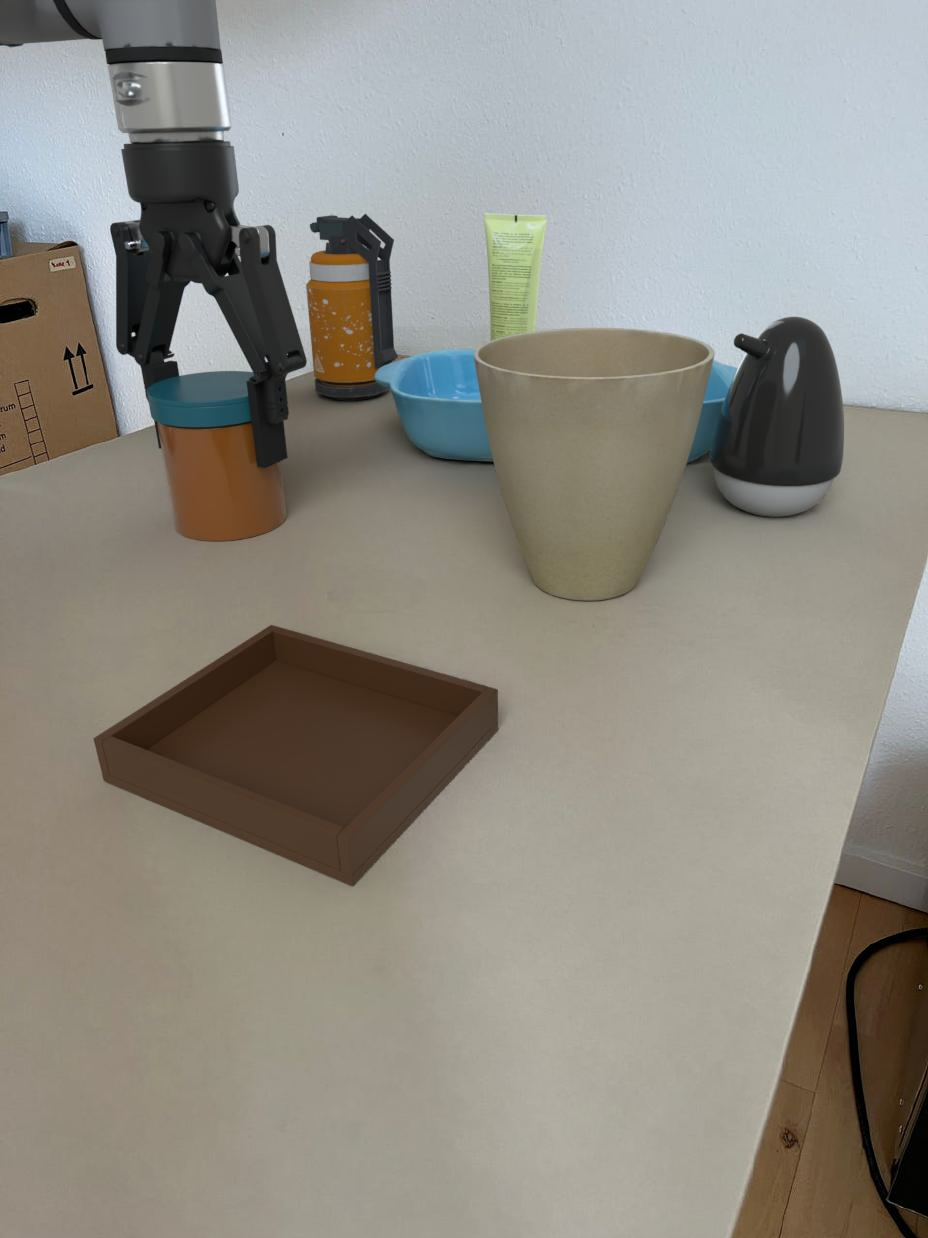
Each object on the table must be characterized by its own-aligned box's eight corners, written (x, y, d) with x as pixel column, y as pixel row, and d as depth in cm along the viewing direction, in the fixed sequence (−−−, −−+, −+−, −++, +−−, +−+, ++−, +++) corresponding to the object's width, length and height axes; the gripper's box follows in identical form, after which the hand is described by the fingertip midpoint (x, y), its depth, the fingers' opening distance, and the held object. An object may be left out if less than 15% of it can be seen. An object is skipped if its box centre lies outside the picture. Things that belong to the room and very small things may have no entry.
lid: (122, 417, 72) (118, 392, 71) (212, 388, 79) (208, 365, 78) (219, 434, 67) (215, 408, 66) (304, 402, 75) (301, 378, 74)
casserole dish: (726, 411, 104) (733, 345, 100) (768, 478, 84) (779, 399, 81) (395, 409, 106) (392, 345, 103) (360, 474, 87) (355, 397, 83)
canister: (350, 380, 119) (338, 208, 109) (419, 392, 113) (412, 212, 104) (300, 396, 112) (282, 215, 103) (370, 409, 107) (358, 219, 97)
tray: (103, 781, 47) (92, 738, 45) (275, 662, 57) (270, 624, 55) (352, 887, 40) (348, 839, 39) (498, 730, 50) (498, 689, 49)
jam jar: (151, 528, 76) (127, 398, 71) (227, 494, 83) (210, 373, 78) (235, 549, 72) (216, 413, 67) (308, 511, 79) (296, 384, 74)
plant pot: (647, 530, 74) (663, 320, 66) (725, 616, 61) (756, 368, 53) (460, 546, 72) (455, 331, 64) (500, 638, 59) (500, 384, 51)
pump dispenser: (678, 496, 80) (696, 312, 73) (776, 478, 84) (802, 301, 77) (756, 538, 72) (784, 335, 65) (860, 516, 76) (898, 321, 69)
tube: (526, 380, 117) (528, 210, 108) (543, 389, 113) (547, 213, 104) (484, 384, 116) (483, 212, 107) (500, 394, 112) (500, 216, 102)
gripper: (22, 140, 66) (87, 447, 77) (266, 137, 56) (303, 489, 67) (106, 138, 72) (156, 423, 83) (341, 134, 62) (364, 459, 73)
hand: (222, 453), depth 75 cm, fingers closed on lid, 10 cm apart
